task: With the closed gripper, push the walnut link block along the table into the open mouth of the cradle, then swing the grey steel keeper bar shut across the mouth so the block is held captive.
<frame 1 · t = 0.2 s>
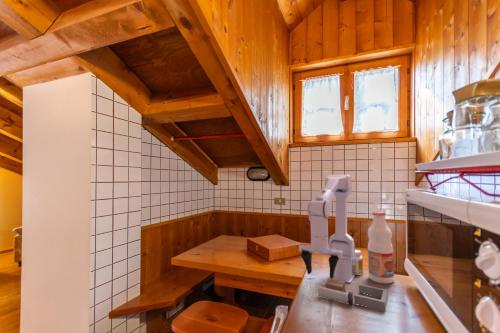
hand: (320, 275, 86), 10 cm above the table, tool pointing down, fingers open, 7 cm apart
fruit juice: (381, 279, 105), on the table
link block: (335, 293, 93), on the table
keeper: (334, 295, 87), point 2 cm above the table, hinge at 90.0°
supplement bottle: (356, 273, 112), on the table
cradle: (367, 300, 87), on the table
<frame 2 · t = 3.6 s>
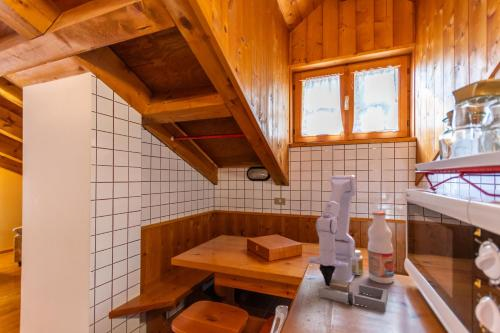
hand: (328, 285, 95), 2 cm above the table, tool pointing down, fingers closed
link block: (339, 293, 92), on the table, touching gripper
everything else where it was.
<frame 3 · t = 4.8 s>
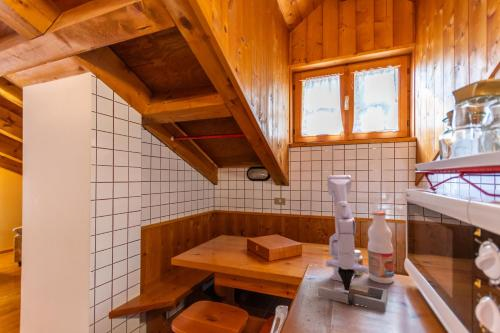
hand: (347, 289, 91), 2 cm above the table, tool pointing down, fingers closed
link block: (359, 298, 89), on the table, touching gripper
everything else where it was.
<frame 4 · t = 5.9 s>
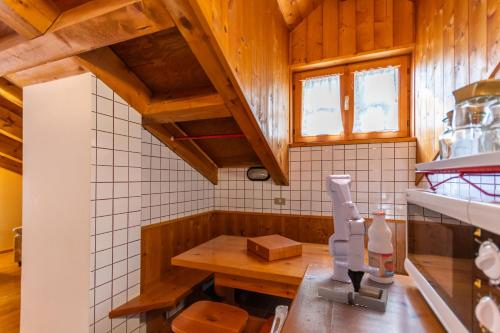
hand: (356, 291, 89), 2 cm above the table, tool pointing down, fingers closed
link block: (369, 301, 87), on the table, touching gripper
everything else where it was.
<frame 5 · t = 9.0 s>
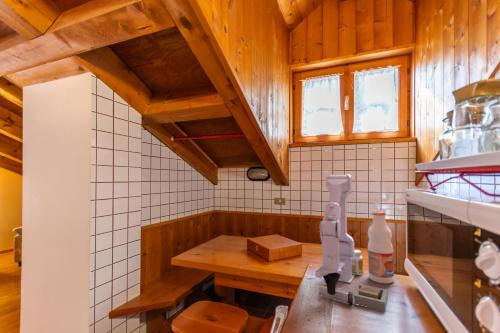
hand: (331, 293, 87), 2 cm above the table, tool pointing down, fingers closed, pressing on keeper
link block: (369, 301, 87), on the table
keeper: (335, 294, 88), point 2 cm above the table, hinge at 84.6°, touching gripper
everything else where it was.
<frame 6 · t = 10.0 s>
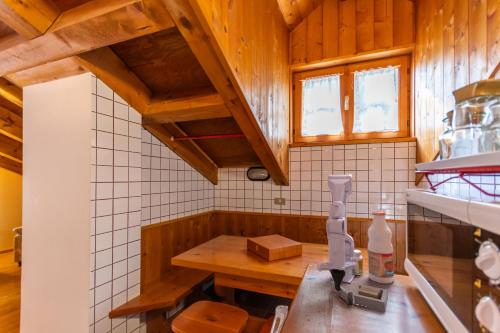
hand: (337, 289, 90), 2 cm above the table, tool pointing down, fingers closed, pressing on keeper
keeper: (341, 292, 90), point 2 cm above the table, hinge at 45.8°, touching gripper
everything else where it was.
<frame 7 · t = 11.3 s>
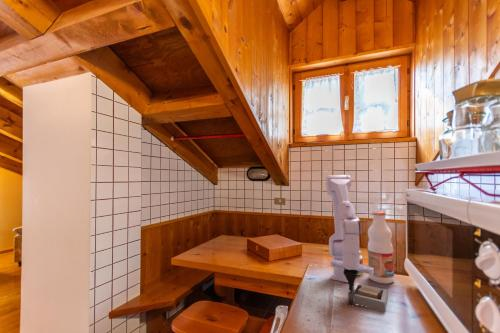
hand: (351, 290, 90), 2 cm above the table, tool pointing down, fingers closed, pressing on keeper
keeper: (354, 292, 89), point 2 cm above the table, hinge at -1.5°, touching gripper
everything else where it was.
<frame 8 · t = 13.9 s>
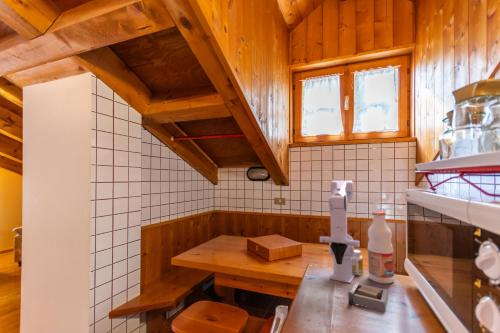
hand: (339, 263, 94), 10 cm above the table, tool pointing down, fingers closed
keeper: (354, 292, 89), point 2 cm above the table, hinge at -1.6°, touching cradle
everything else where it was.
at the end: link block 0.4 cm off-centre on the cradle, point 0.0 cm above the cradle's base; keeper at -2° (first picture: +90°); link block tilted 0° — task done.
